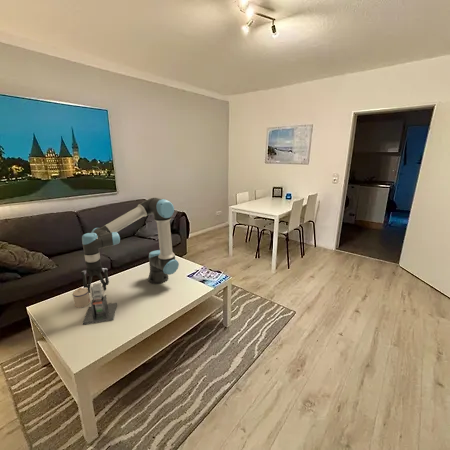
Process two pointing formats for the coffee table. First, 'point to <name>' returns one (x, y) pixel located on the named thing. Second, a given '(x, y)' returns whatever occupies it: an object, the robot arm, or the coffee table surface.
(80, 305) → the teacup with lid
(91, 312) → the stand base
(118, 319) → the coffee table surface
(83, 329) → the coffee table surface
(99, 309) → the column
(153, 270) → the robot arm
